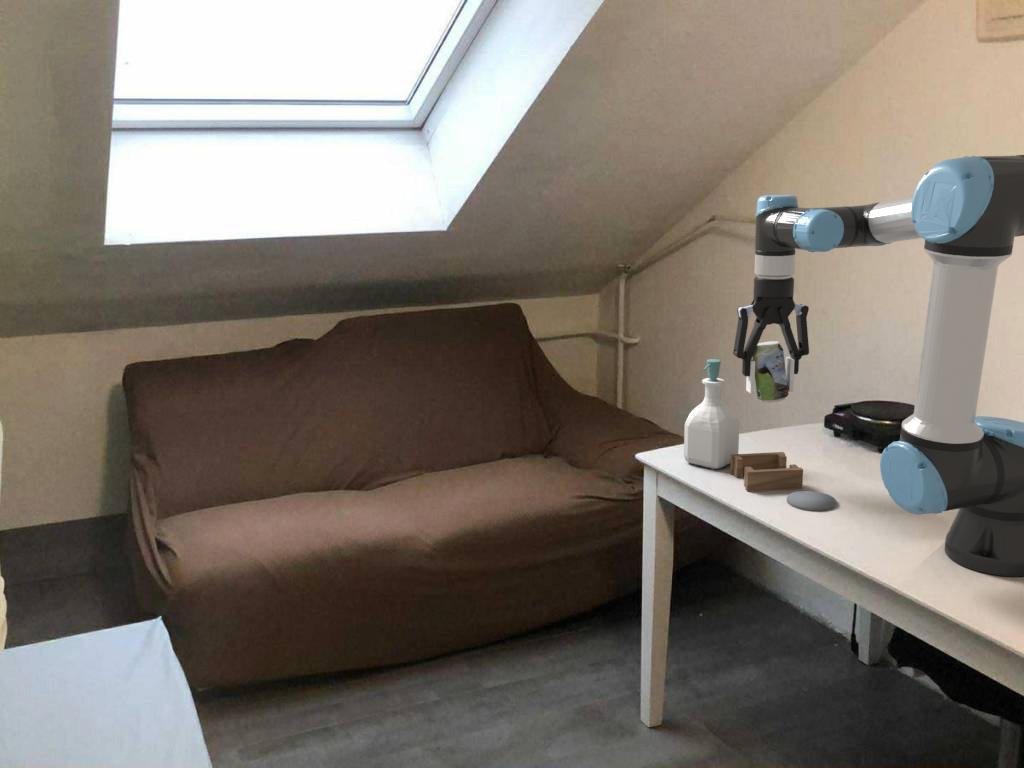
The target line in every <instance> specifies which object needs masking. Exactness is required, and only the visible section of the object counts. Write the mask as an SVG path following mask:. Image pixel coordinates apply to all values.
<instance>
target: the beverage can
mask: <svg viewBox="0 0 1024 768" xmlns="http://www.w3.org/2000/svg"><path fill="white" fill-rule="evenodd" d="M752 359H753V360H754V361H755V389H756V396H757V397H756V398H757V399H758V400H759V401H761V402H763V403H770V404H771V403H779V402H783V401H784V400H785V399H786V397H788V396H789V391H788V386H787V377H786V369H785V366H786V360H785V353H784V347H783V346H782V345H781V344H780V341H777V340H773V341H772V340H770V341H769V340H768V341H762V342H758V345H757V347H756V349H755V352H754V354H753V357H752Z"/></svg>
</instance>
